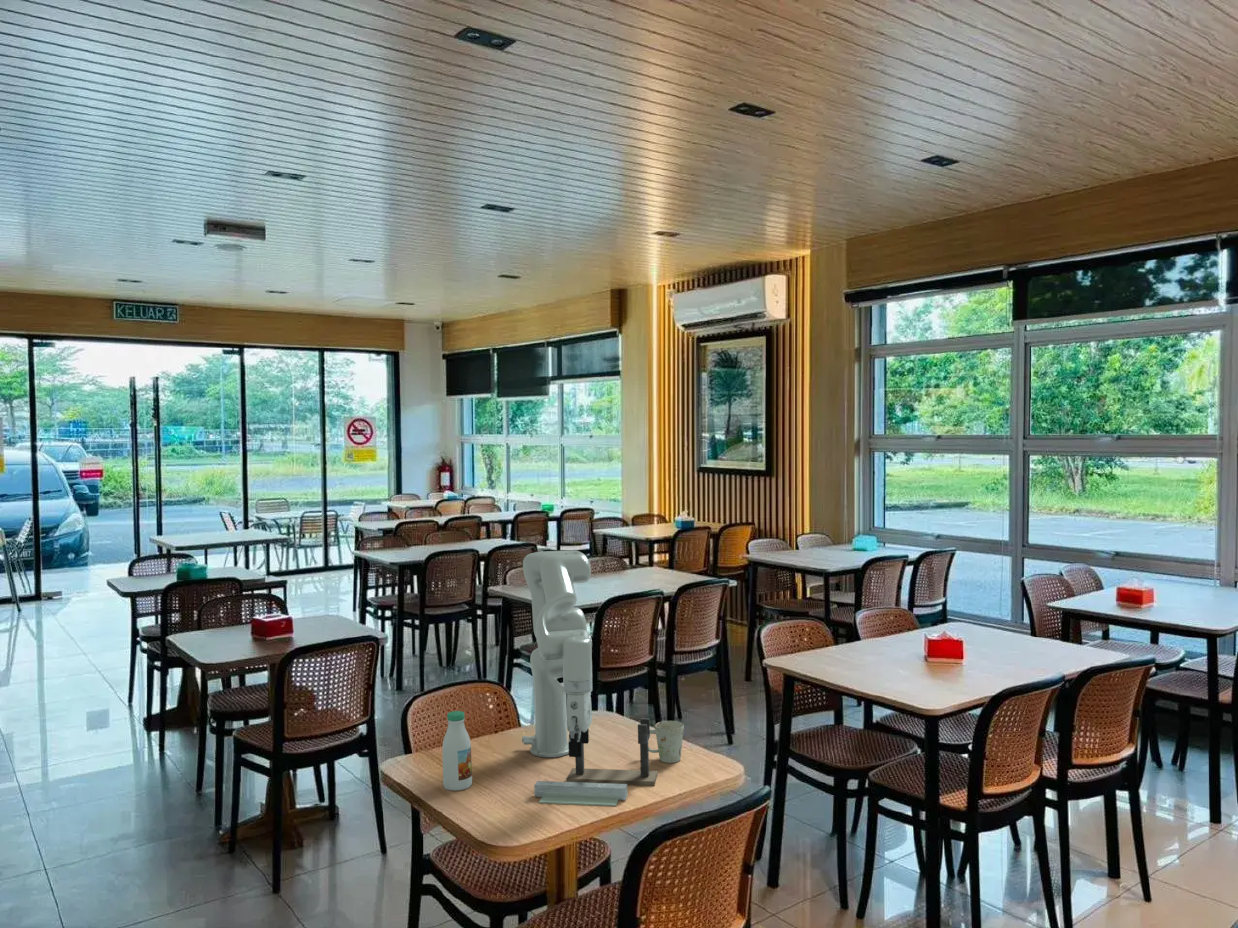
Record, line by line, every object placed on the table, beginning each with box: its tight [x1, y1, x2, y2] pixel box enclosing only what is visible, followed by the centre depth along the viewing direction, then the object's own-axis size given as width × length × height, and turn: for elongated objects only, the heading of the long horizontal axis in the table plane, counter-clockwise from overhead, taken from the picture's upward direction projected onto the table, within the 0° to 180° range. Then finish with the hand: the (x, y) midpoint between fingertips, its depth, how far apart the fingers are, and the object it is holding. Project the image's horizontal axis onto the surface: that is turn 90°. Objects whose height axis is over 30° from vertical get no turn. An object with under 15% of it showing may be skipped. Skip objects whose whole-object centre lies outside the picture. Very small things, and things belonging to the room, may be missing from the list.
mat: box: [538, 797, 619, 807], centre depth 238 cm, size 20×9×1 cm, turn 81°
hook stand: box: [565, 717, 659, 787], centre depth 251 cm, size 24×8×16 cm, turn 81°
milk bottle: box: [442, 710, 473, 792], centre depth 248 cm, size 8×8×20 cm
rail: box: [533, 780, 628, 801], centre depth 238 cm, size 24×3×3 cm, turn 81°
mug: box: [648, 720, 685, 764], centre depth 266 cm, size 8×13×10 cm, turn 79°
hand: (579, 749), depth 238 cm, fingers open, 9 cm apart
